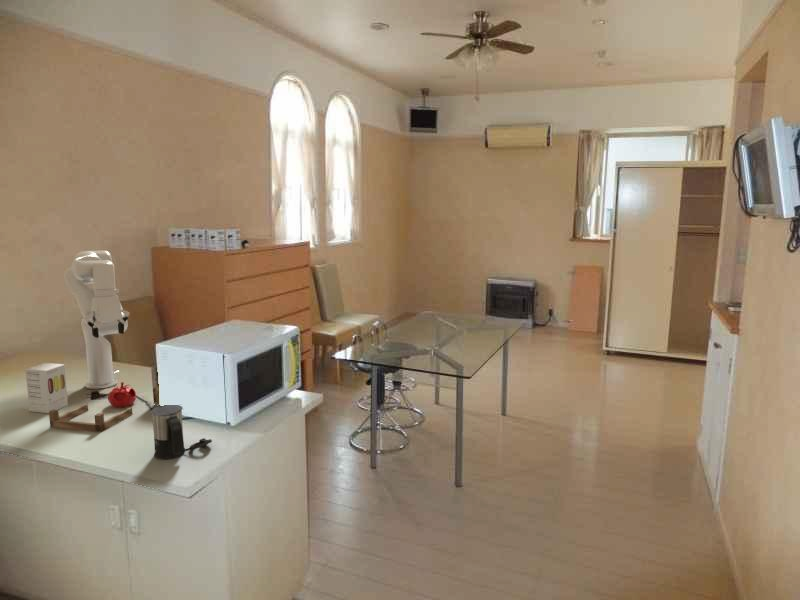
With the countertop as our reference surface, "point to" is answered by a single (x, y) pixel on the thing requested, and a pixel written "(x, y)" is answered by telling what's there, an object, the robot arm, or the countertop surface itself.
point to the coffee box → (155, 384)
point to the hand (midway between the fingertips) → (108, 335)
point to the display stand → (98, 426)
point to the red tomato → (122, 396)
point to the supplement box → (46, 387)
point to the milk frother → (170, 432)
